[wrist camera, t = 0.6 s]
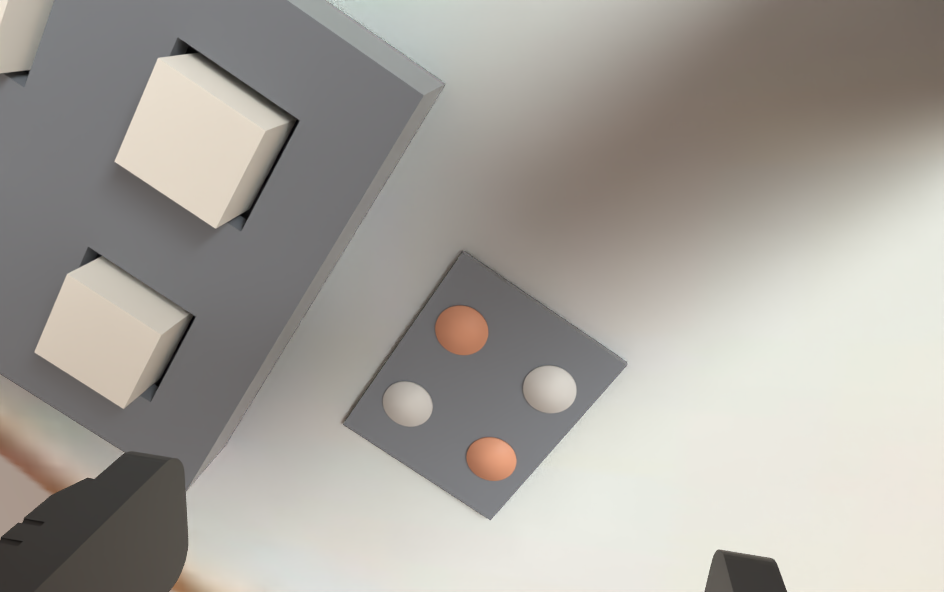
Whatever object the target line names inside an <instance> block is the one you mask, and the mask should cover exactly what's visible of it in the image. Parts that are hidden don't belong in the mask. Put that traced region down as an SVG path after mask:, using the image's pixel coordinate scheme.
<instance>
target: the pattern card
mask: <svg viewBox="0 0 944 592" xmlns="http://www.w3.org/2000/svg"><path fill="white" fill-rule="evenodd" d="M626 366H627V362H626V361H625V360H623V359H622V358H620V357H619V356H617V355H616V354H615V353H613V352H612V351H610V350H609V349H607V348H606V347H604V346H603V345H601V344H600V343H598V342H597V341H595V340H594V339H592V338H591V337H590V336H588V335H587V334H585V333H584V332H582V331H581V330H579V329H578V328H576V327H575V326H573V325H572V324H570V323H569V322H567V321H566V320H565V319H563V318H562V317H560V316H559V315H557V314H556V313H554V312H553V311H551V310H550V309H548V308H547V307H545V306H544V305H543V304H541V303H540V302H538V301H537V300H535V299H534V298H532V297H531V296H529V295H528V294H526V293H525V292H523V291H522V290H520V289H519V288H518V287H516V286H515V285H513V284H512V283H510V282H509V281H507V280H506V279H504V278H503V277H501V276H500V275H498V274H497V273H495V272H494V271H493V270H491V269H490V268H488V267H487V266H485V265H484V264H482V263H481V262H479V261H478V260H476V259H475V258H473V257H472V256H471V255H469V254H468V253H466V252H465V251H463V252H462V253H461V255H460V256H459V258H458V259H457V260H456V262H455V263H454V265H453V266H452V268H451V269H450V270H449V272H448V273H447V275H446V276H445V278H444V279H443V281H442V282H441V283H440V285H439V286H438V288H437V289H436V291H435V292H434V294H433V295H432V296H431V298H430V299H429V301H428V302H427V304H426V305H425V307H424V308H423V309H422V311H421V312H420V314H419V315H418V317H417V318H416V319H415V321H414V322H413V324H412V325H411V327H410V328H409V330H408V331H407V332H406V334H405V335H404V337H403V338H402V340H401V341H400V343H399V344H398V345H397V347H396V348H395V350H394V351H393V353H392V354H391V356H390V357H389V358H388V360H387V361H386V363H385V364H384V366H383V367H382V368H381V370H380V371H379V373H378V374H377V376H376V377H375V379H374V380H373V381H372V383H371V384H370V386H369V387H368V389H367V390H366V392H365V393H364V394H363V396H362V397H361V399H360V400H359V402H358V403H357V405H356V406H355V407H354V409H353V410H352V412H351V413H350V415H349V416H348V417H347V419H346V420H345V422H344V424H343V425H345V426H346V427H348V428H349V429H351V430H352V431H354V432H355V433H357V434H359V435H360V436H362V437H363V438H365V439H366V440H368V441H369V442H371V443H372V444H374V445H375V446H377V447H379V448H380V449H382V450H383V451H385V452H386V453H388V454H389V455H391V456H392V457H394V458H395V459H397V460H399V461H400V462H402V463H403V464H405V465H406V466H408V467H409V468H411V469H412V470H414V471H415V472H417V473H419V474H420V475H422V476H423V477H425V478H426V479H428V480H429V481H431V482H432V483H434V484H435V485H437V486H439V487H440V488H442V489H443V490H445V491H446V492H448V493H449V494H451V495H452V496H454V497H455V498H457V499H459V500H460V501H462V502H463V503H465V504H466V505H468V506H469V507H471V508H472V509H474V510H475V511H477V512H479V513H480V514H482V515H483V516H485V517H486V518H488V519H489V520H491V519H492V518H493V517H494V516H495V514H496V513H497V512H498V511H499V510H500V509H501V508H502V507H503V505H504V504H505V503H506V502H507V501H508V500H509V499H510V497H511V496H512V495H513V494H514V493H515V492H516V491H517V490H518V488H519V487H520V486H521V485H522V484H523V483H524V482H525V480H526V479H527V478H528V477H529V476H530V475H531V474H532V473H533V471H534V470H535V469H536V468H537V467H538V466H539V465H540V463H541V462H542V461H543V460H544V459H545V458H546V457H547V455H548V454H549V453H550V452H551V451H552V450H553V449H554V448H555V446H556V445H557V444H558V443H559V442H560V441H561V440H562V438H563V437H564V436H565V435H566V434H567V433H568V432H569V431H570V429H571V428H572V427H573V426H574V425H575V424H576V423H577V421H578V420H579V419H580V418H581V417H582V416H583V415H584V413H585V412H586V411H587V410H588V409H589V408H590V407H591V406H592V404H593V403H594V402H595V401H596V400H597V399H598V398H599V396H600V395H601V394H602V393H603V392H604V391H605V390H606V389H607V387H608V386H609V385H610V384H611V383H612V382H613V381H614V379H615V378H616V377H617V376H618V375H619V374H620V373H621V371H622V370H623V369H624V368H625V367H626Z"/></svg>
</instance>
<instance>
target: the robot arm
mask: <svg viewBox="0 0 944 592" xmlns="http://www.w3.org/2000/svg"><path fill="white" fill-rule="evenodd" d="M187 551H188V526H187V507H186V489H185V472H184V467H183V464H182V462H181V461H180V460H179V459H177V458H171V457H165V456H159V455H153V454H147V453H141V452H135V451H129V452H126V453H124V454H123V455H122V456H120V457H119V458H118V459H117V460H116V461H115V462H114V463H112V464H111V465H110V466H109V467H108V468H107V469H106V470H104V471H103V472H102V473H101V474H100V475H99V476H98V477H96V478H95V479H91V478H86V479H84V480H82V481H80V482H78V483H76V484H74V485H72V486H69V487H67V488H65V489H63V490H61V491H59V492H57V493H55V494H53V495H51V496H50V497H49V498H47V499H46V500H45V501H44V502H43V503H42V504H40V505H39V506H38V507H37V508H35V509H34V510H33V511H32V512H31V513H29V514H28V515H27V516H26V517H25V518H24V521H23V523H17V524H16V525H15V526H14V527H13V528H11V529H10V530H9V531H8V532H7V533H6V534H4V535H3V536H2V537H1V540H0V592H169V591H170V590H171V588H172V587H173V586H174V584H175V583H176V581H177V580H178V578H179V576H180V574H181V572H182V569H183V566H184V563H185V560H186V556H187ZM705 592H787V590H786V588H785V585H784V582H783V579H782V576H781V574H780V571H779V568H778V566H777V563H776V562H775V560H774V559H772V558H767V557H761V556H755V555H749V554H743V553H737V552H731V551H725V550H717V551H716V552H715V554H714V556H713V559H712V563H711V567H710V571H709V575H708V579H707V584H706V588H705Z"/></svg>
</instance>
